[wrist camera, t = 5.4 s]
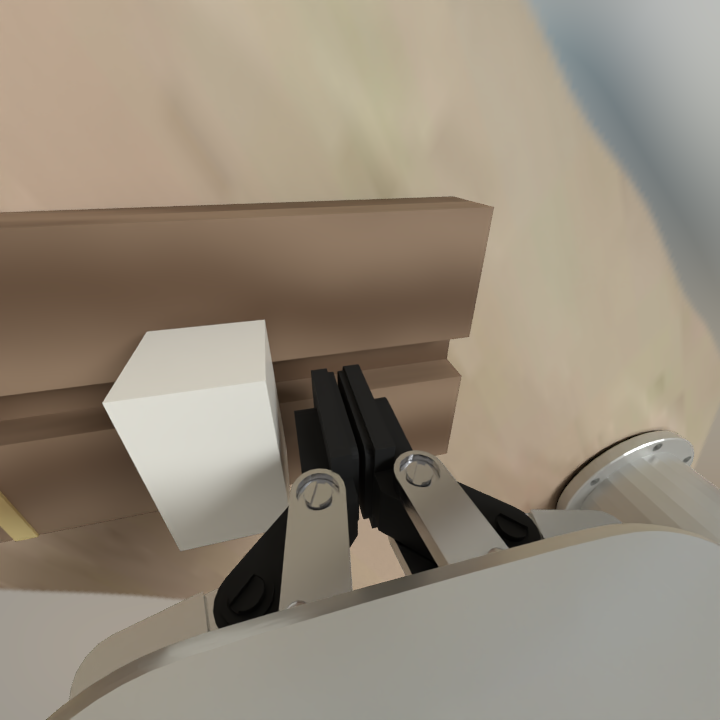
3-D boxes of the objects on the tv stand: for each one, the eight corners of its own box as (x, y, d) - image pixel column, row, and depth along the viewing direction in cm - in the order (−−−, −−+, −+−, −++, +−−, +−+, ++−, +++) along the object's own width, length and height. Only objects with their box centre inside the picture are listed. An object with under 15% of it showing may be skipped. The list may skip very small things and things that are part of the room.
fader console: (424, 416, 20) (447, 454, 18) (-62, 500, 16) (-125, 569, 13) (453, 196, 14) (495, 207, 11) (-357, 225, 9) (-594, 255, 7)
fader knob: (284, 420, 16) (292, 526, 11) (204, 433, 15) (180, 551, 11) (264, 299, 12) (265, 380, 8) (161, 308, 12) (102, 402, 7)
